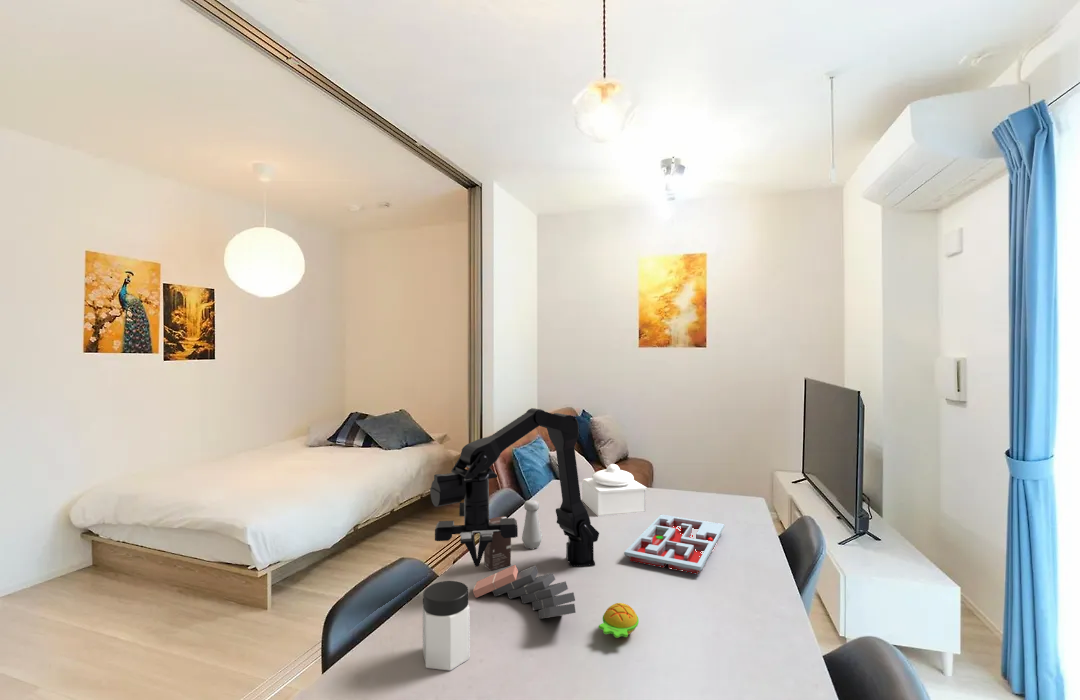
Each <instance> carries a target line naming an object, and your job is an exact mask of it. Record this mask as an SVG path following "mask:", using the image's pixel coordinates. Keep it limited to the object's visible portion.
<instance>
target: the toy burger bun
mask: <svg viewBox="0 0 1080 700" xmlns="http://www.w3.org/2000/svg"><path fill="white" fill-rule="evenodd" d="M602 622H603V623H601V624H599V625H598V629H599V630H602V631H603V632H602V633H603V634H604V635H610V634H611V635H612V636H613V637H614V638H616V639H618V638H620V637H623V638H628V637H629V635H630V634H631V633H633V632H634V631H635V629H636V628H637V627H638V625H639V622H640V621H639V616H638V615H637V613H636V611H635V610H634V609H633V607H632V606H630V605H628V604H626V603H623V602H615V603H614V604H612V605H610V606H608V608H607V609H606V611H605V612H604V613H603V615H602Z"/></svg>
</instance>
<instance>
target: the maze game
mask: <svg viewBox="0 0 1080 700" xmlns="http://www.w3.org/2000/svg"><path fill="white" fill-rule="evenodd" d="M673 526H674V527H673ZM677 526H681V529H680V528H679V527H678V528H679V529H680V530H681V531H679V530H678V529H676V527H677ZM725 526H726V525H725V524H724V523H718V522H714V521H713V522H712V521H707V520H698V519H692V518H686V517H681V516H679V517H678V516H673V515H667V514H660V515H659V516H658V517H657V518H656V519H655V520H654V521H652V523H651V524H650V525H649V526H648V527H647V528H646V529H645V530H644V531H643V532H642V533H641V534H640V535H639V536H638V537H637V538H636V539H635V540H634V541H633V542H632V543H631V544H630V545H629V546H628V548H626V549H625V550H624V551H623V554H624V556H628V557H629V561H630V562H633V561H635V562H634V563H638V562H640V563H639V564H643V563H645V564H644V565H648V564H650V565H649V566H653V565H655V566H654V567H658V566H661V567H660V568H663V567H664V566H665V565H666V566H667V565H668V569H669V568H672V569H671V570H673V569H677V570H676V571H678V570H683V571H687V572H686V573H688V572H692V573H691V574H693V573H698V571H699V570H700V571H702V570H703V568H704V567H705V564H706V562H707V561H708V559H709V557H710V555H711V553H712V550H713V549H714V547H715V545H716V543H717V544H718V540H719V538H720V536H721V535H722V532H723V530H724V529H725ZM692 528H694V529H699V530H698V531H697V533H696V539H694V538H691V537H690V536H691V533H692ZM680 533H681V534H680ZM682 534H683V535H682ZM692 537H693V535H692ZM706 540H708V541H706ZM716 546H717V545H716ZM715 548H716V547H715ZM695 549H696V551H697V552H696V551H695ZM714 550H715V549H714ZM701 551H704V552H703V554H701V553H702V552H701ZM700 552H701V553H700ZM699 556H700V557H699ZM666 566H665V567H666ZM665 567H664V568H665ZM683 571H682V572H683ZM700 571H699V572H700ZM698 574H699V573H698Z"/></svg>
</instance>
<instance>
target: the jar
mask: <svg viewBox="0 0 1080 700" xmlns="http://www.w3.org/2000/svg"><path fill="white" fill-rule="evenodd" d="M470 609H471V608H470V605H469V587H468V585H467V584H465V583H463V582H462V581H461V582H460V581H457V580H456V581H455V580H443V581H439V582H436V583H433V584H431V585H429V586H427V587H426V588H425V589H424V591H423V594H422V655H423V658H424V659H423V660H424V664H425V668H426V669H431V670H439V671H452V670H453V669H456V668H457V667H458V666H461V665H462V664H463V663H465V662H467V661H468V660H470V658H471V636H470V635H471V633H470V632H471V628H470V627H471V625H470V624H471V623H470V622H471V619H470V618H471V617H470V616H471V611H470Z"/></svg>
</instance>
